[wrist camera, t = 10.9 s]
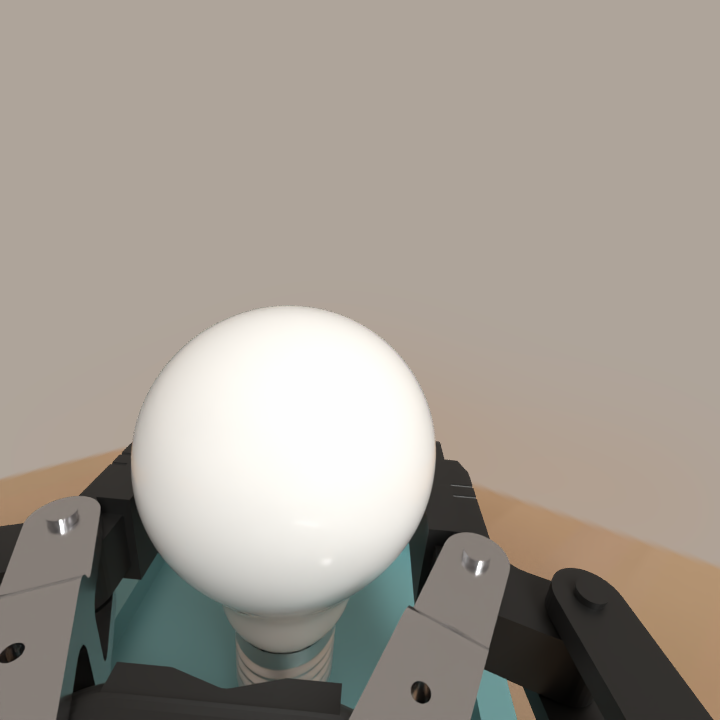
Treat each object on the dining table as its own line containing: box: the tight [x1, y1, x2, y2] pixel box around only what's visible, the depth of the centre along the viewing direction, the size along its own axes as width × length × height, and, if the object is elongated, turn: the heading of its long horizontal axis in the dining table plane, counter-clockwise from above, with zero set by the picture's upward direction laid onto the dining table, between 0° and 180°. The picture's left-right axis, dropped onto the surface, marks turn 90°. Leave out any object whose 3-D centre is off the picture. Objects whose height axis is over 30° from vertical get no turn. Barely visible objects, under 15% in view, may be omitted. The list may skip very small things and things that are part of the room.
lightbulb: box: [131, 305, 436, 687], centre depth 10 cm, size 6×6×11 cm
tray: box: [111, 543, 517, 720], centre depth 13 cm, size 13×13×2 cm
